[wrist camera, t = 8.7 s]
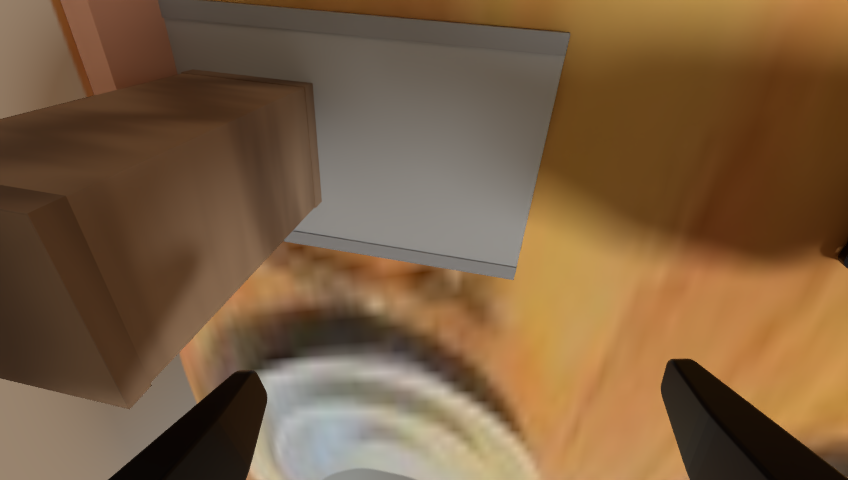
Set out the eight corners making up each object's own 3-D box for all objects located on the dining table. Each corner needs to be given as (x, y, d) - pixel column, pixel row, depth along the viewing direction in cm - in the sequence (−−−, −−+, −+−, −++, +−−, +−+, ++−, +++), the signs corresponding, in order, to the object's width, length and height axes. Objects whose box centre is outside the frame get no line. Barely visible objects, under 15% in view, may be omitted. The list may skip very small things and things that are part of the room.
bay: (569, 32, 16) (582, 43, 13) (513, 274, 22) (512, 324, 19) (141, -6, 18) (58, -5, 15) (201, 222, 25) (153, 258, 22)
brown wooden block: (312, 83, 19) (27, 213, 8) (321, 201, 22) (129, 409, 11) (192, 69, 19) (-218, 170, 9) (218, 185, 23) (-56, 365, 12)
